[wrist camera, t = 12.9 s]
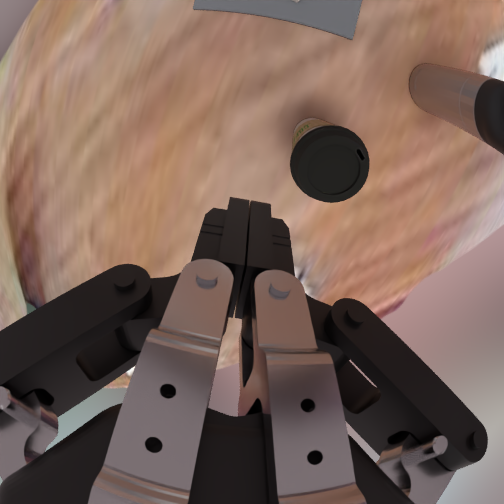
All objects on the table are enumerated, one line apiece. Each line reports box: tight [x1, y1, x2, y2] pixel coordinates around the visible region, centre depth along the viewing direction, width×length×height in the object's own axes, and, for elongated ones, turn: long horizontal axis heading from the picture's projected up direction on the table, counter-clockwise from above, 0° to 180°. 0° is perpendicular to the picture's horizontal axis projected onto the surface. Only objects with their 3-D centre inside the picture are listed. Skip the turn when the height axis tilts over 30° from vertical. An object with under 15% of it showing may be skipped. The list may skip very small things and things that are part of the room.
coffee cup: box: [290, 118, 369, 203], centre depth 35 cm, size 10×10×15 cm
